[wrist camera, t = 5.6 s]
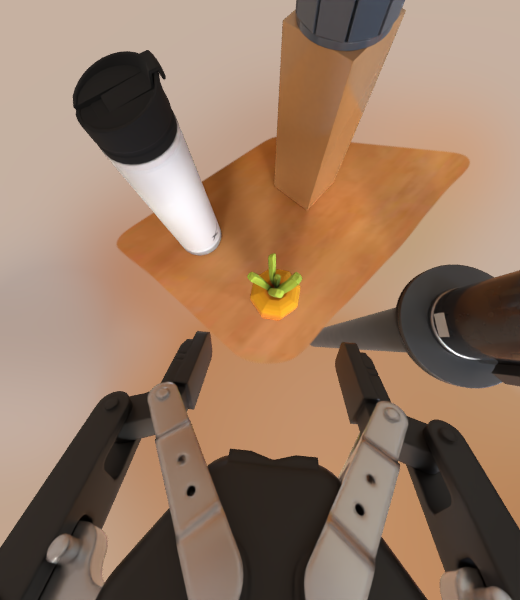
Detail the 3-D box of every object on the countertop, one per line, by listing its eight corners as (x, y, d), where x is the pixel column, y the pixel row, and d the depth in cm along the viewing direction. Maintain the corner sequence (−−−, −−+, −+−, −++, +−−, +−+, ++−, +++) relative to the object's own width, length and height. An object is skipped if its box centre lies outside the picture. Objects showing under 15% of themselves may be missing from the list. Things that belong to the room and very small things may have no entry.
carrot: (247, 314, 30) (230, 286, 16) (267, 285, 31) (268, 233, 16) (277, 333, 30) (289, 323, 15) (296, 304, 30) (324, 267, 16)
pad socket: (338, 181, 34) (477, -133, 12) (306, 214, 33) (393, -58, 11) (301, 155, 35) (363, -175, 13) (270, 187, 34) (277, -112, 12)
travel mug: (231, 241, 33) (179, 88, 13) (193, 263, 32) (78, 137, 12) (211, 210, 34) (136, 26, 14) (174, 231, 33) (43, 69, 14)
